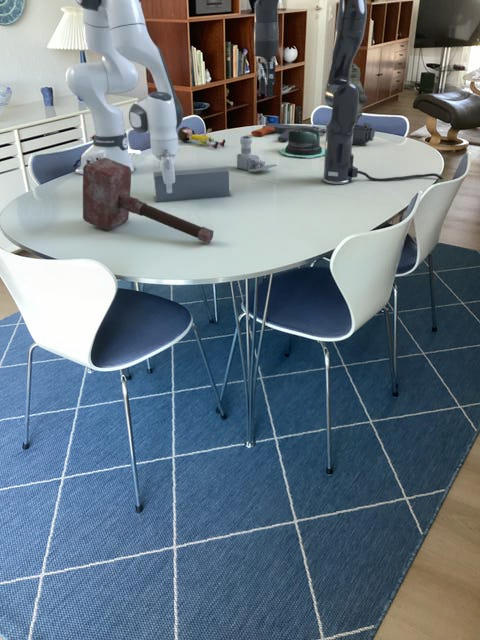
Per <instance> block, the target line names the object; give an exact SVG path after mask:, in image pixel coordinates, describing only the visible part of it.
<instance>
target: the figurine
mask: <svg viewBox="0 0 480 640" xmlns="http://www.w3.org/2000/svg"><path fill="white" fill-rule="evenodd" d="M210 132H212V128H209V129H207V130H206V132H205V133H204V134H202V135H201V134H198V133H195V130H193V129H191V128H189V127H188V126H182V127H180V128H179V129H178V132H177V135H178V140H179V141H182V142H191V141H192V140H194V141H198V142H200V143H201V144H203V145H204V146H210V147H212V148H214V149H215V150H216V149H218V145H219V146H221V147H225V144H226V139H222V141H218V140H216V139H215V138H213V137H212V136H207V135H208V134H209V133H210Z"/></svg>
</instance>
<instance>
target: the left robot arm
mask: <svg viewBox="0 0 480 640" xmlns="http://www.w3.org/2000/svg"><path fill="white" fill-rule="evenodd" d="M75 1H76V3H77V4H78V5H79V6H80V7H81V8H82V21H83V22H82V23H83V24H82V25H83V37H84V44H85V45H86V47H87V49H89V50H90V51H91V52H93V53H94V54H96V55H99V56H100V57H102V60H99V61H88V62H80V63H76V64H74V65H70V66H69V67H68V69H67V71H66V74H65V81H66V84H67V87H68V89H69V90H70V92H71V93H72V94H74V96H76V97H78V98H79V99H80V100H82V101H83V103H85V105H86V106H87V108H88V109H89V111H90V114H91V117H92V122H93V126H94V133H95V134H93V135H92V136H90V137H89V141H92V145H91V146H90V147H88V148H87V149H86V150H85V151H84V152H83V153H82V154H81V155H80V156H79V159H77V160H76V161H75V163H73V167H77V166H78V164H79V163H80V166H79V167H77V168H76V169H75V174H79V175H83V167H84V166H85V165H86V164H89V163H92V162H94V161H97V160H100V159H102V158H108V159H111V160H113V161H116V162H118V163H121V164H123V165H126V166H129V167H130V169H131V173H133V172H134V171H135V168H134V165H133V164H132V160H131V156H130V153H132V154H141V150H139V149H138V150H137V149H129V142H128V135H127V132H126V126H125V119H124V118H125V117H124V112H123V111H122V110H121V108H120V107H118V106H116V105H114V104H112V103H109V102H107V100H106V97H105V96H106V95H107V96H108V95H116V94H125V93H129V92H131V91H133V90H135V89H136V88H137V86H138V83H139V80H140V79H139V72H138V70H137V68H136V66H135V65H134V64H133V63H137V64H139V65H142V66H143V67H145V68H146V69H147V70H148V71H149V72H150V75H151V76H152V79H153V82H154V85H155V88H156V91H153V92H150V93H148V95H147V96H146V98H145V99H143V100H141V101H137V102H135V103H133V104H132V105H131V106H130V108H129V112H128V120H129V121H128V122H129V125H130V127H131V128H132V129H133V130H134V131H135V132H137V133H138V134H149V135H150V137H149V138H150V139H149V142H150V151H151V155H154V156H155V159H156V160H157V162H158V165H159V169H160V172H161V173H162V177H163V181H164V184H166V191H167V193H172V183H175V171H176V170H175V163H174V159H176V155H177V154H178V153H179V152H180V143H179V137H178V132H177V129H178V128H179V127H180V126H181V124H182V122H183V120H184V109H183V106H182V104H181V102H180V99H179V98H178V96H177V93H176V91H175V88H174V84H173V82H172V78H171V76H170V73H169V69H168V67H167V66H168V65H167V63H166V61H165V57H164V56H163V53H162V51H161V49H160V47H159V46H158V45H157V44H155V43H154V41H153V40H152V38H151V36H150V34H149V32H148V27H147V24H146V20H145V15H144V11H143V8H142V5H141V3H142V0H75Z"/></svg>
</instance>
